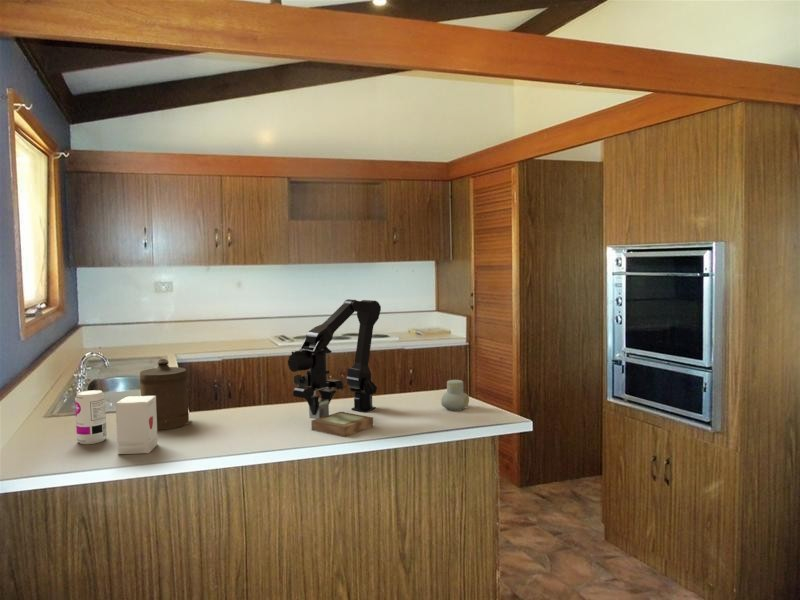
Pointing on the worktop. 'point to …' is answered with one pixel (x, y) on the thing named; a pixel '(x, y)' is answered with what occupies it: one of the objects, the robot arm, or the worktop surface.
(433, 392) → the worktop surface
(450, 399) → the air freshener
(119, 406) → the supplement box
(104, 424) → the supplement can
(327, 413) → the grey box
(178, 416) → the wooden container
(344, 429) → the platform
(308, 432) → the worktop surface
